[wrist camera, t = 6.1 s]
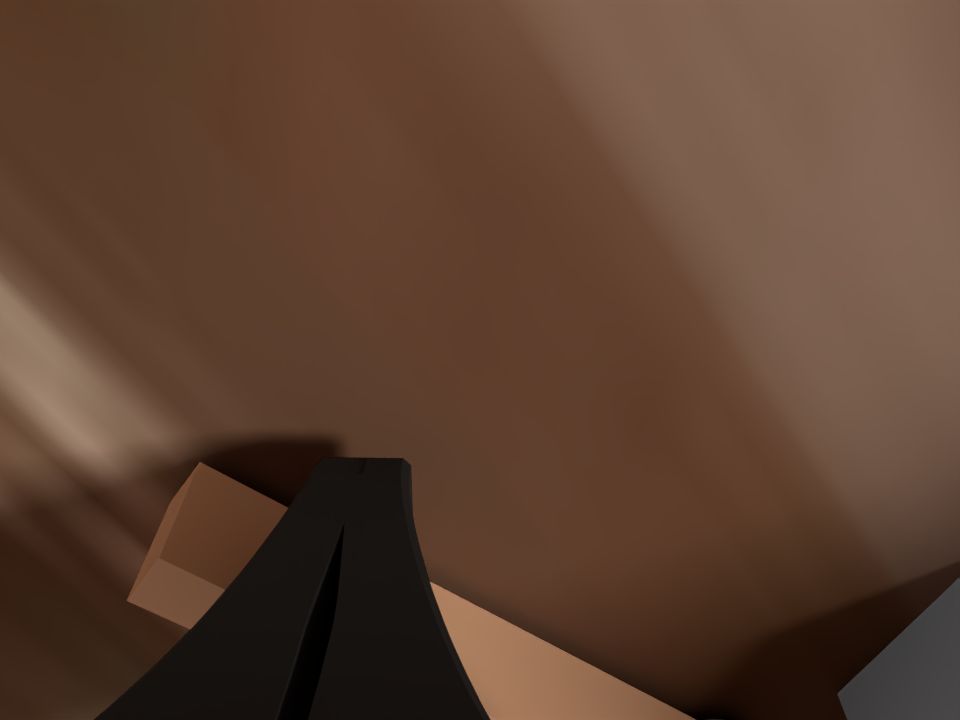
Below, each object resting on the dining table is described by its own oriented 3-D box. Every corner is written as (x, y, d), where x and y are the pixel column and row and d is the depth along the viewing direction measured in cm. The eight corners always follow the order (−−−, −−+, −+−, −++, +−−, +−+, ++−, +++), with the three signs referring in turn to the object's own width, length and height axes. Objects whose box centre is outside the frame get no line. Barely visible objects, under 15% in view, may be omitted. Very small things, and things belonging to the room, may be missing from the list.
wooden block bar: (158, 517, 14) (104, 640, 12) (211, 444, 13) (163, 562, 11) (709, 787, 18) (737, 915, 16) (776, 742, 17) (815, 871, 15)
